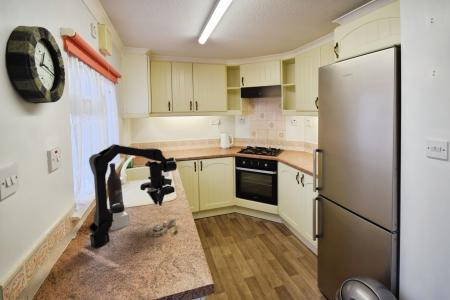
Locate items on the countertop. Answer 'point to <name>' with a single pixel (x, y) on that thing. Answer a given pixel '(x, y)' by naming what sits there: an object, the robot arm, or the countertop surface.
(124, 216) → the printed carton box
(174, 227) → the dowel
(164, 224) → the ring with handle
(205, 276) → the countertop surface
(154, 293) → the countertop surface
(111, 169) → the wine bottle
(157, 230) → the grey shiny ball
